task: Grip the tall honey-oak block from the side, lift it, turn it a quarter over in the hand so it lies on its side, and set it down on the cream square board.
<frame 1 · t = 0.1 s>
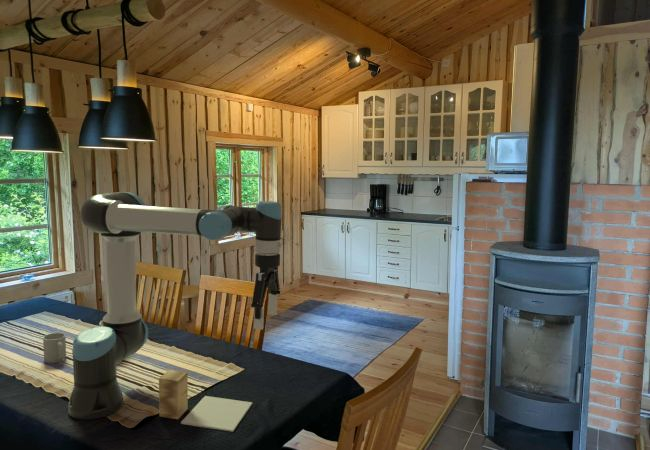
hand: (265, 321, 145), 28 cm above the table, tool pointing down, fingers open, 13 cm apart
cream square board: (218, 413, 144), on the table
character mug: (110, 354, 183), on the table
oak block: (173, 412, 144), on the table
cup: (56, 360, 176), on the table
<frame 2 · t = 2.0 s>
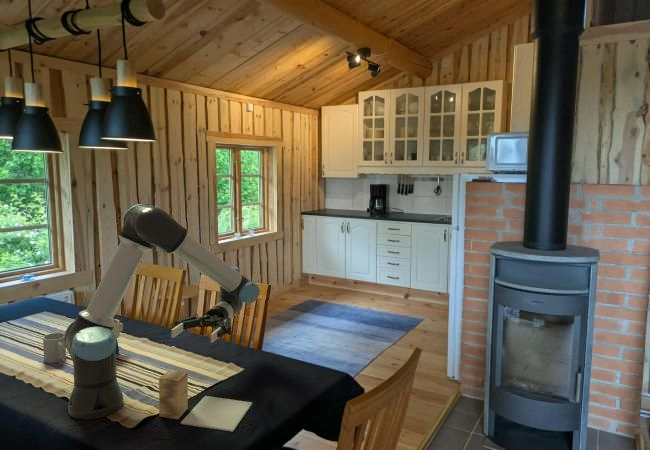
hand: (191, 336, 152), 20 cm above the table, tool horizontal, fingers open, 13 cm apart
nothing on the table moved.
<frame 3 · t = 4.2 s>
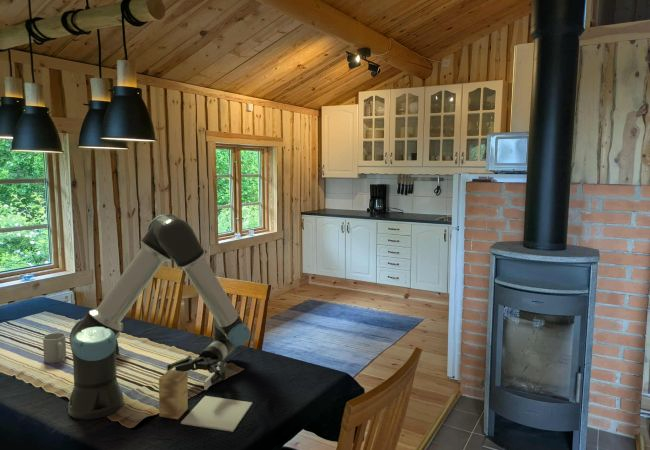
hand: (184, 383, 148), 7 cm above the table, tool horizontal, fingers open, 13 cm apart
nothing on the table moved.
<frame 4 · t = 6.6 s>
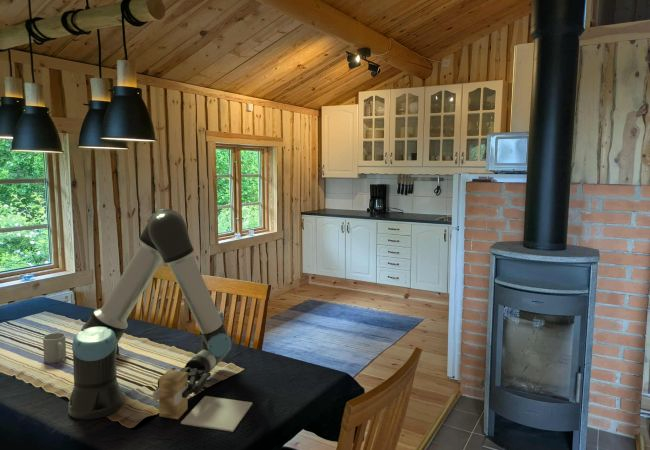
hand: (164, 399, 138), 7 cm above the table, tool horizontal, fingers closed on oak block, 6 cm apart
oak block: (173, 412, 144), on the table, touching gripper
everything else where it was.
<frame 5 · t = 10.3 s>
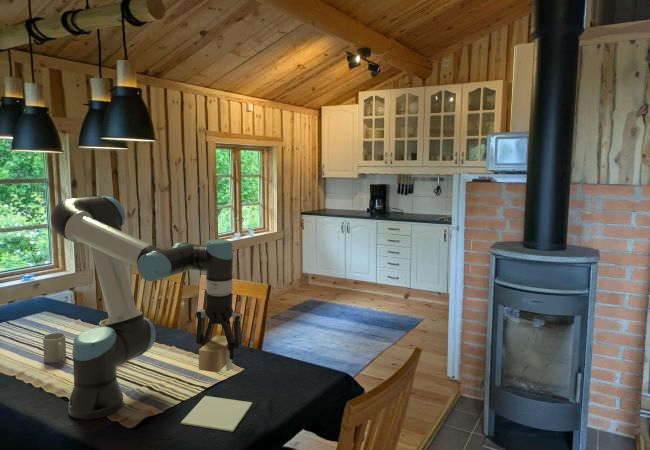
hand: (218, 367, 142), 15 cm above the table, tool pointing down, fingers closed on oak block, 6 cm apart
oak block: (208, 361, 135), point 20 cm above the table, tilted 90°, touching gripper
everything else where it was.
when the fingers open (1 cm above the table, at t = 13.0 s): oak block drops 3 cm, resting on cream square board.
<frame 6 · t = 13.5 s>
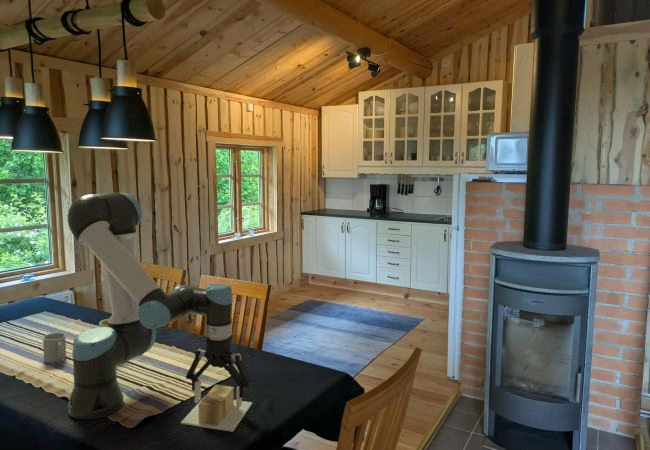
hand: (218, 403, 144), 3 cm above the table, tool pointing down, fingers open, 13 cm apart
oak block: (208, 414, 137), point 3 cm above the table, tilted 90°, touching cream square board
everything else where it was.
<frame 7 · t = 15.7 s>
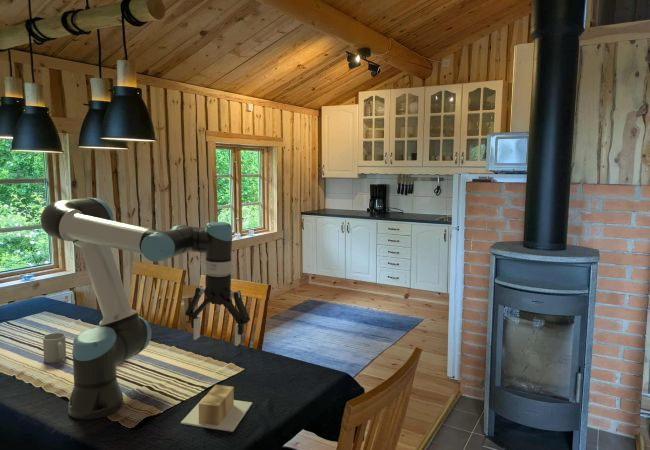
hand: (216, 341, 146), 21 cm above the table, tool pointing down, fingers open, 13 cm apart
nothing on the table moved.
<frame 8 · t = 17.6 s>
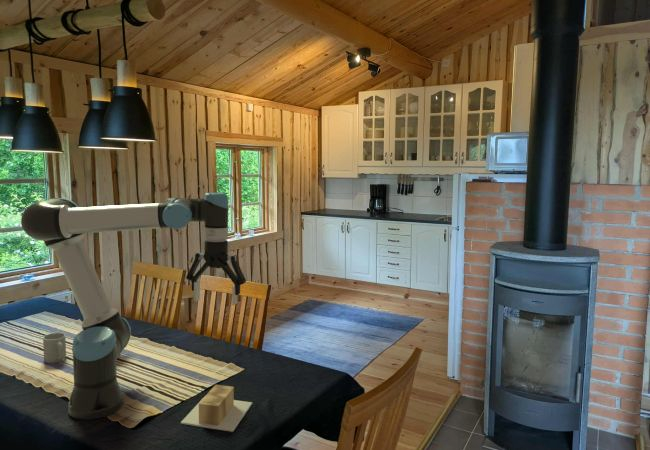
hand: (215, 302, 160), 29 cm above the table, tool pointing down, fingers open, 13 cm apart
nothing on the table moved.
at the end: oak block tilted 90°; oak block inside the target area on the cream square board (7.0 cm from its centre), point 3.5 cm above the cream square board's base; the gripper is holding nothing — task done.
